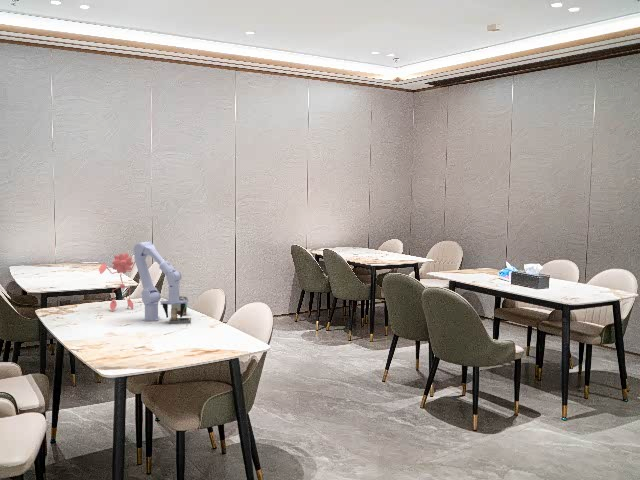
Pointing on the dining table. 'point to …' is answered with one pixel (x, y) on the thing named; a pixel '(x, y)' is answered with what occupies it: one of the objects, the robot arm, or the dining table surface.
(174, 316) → the peg
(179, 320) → the plate
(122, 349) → the dining table surface
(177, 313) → the food container
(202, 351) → the dining table surface
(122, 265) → the figurine
